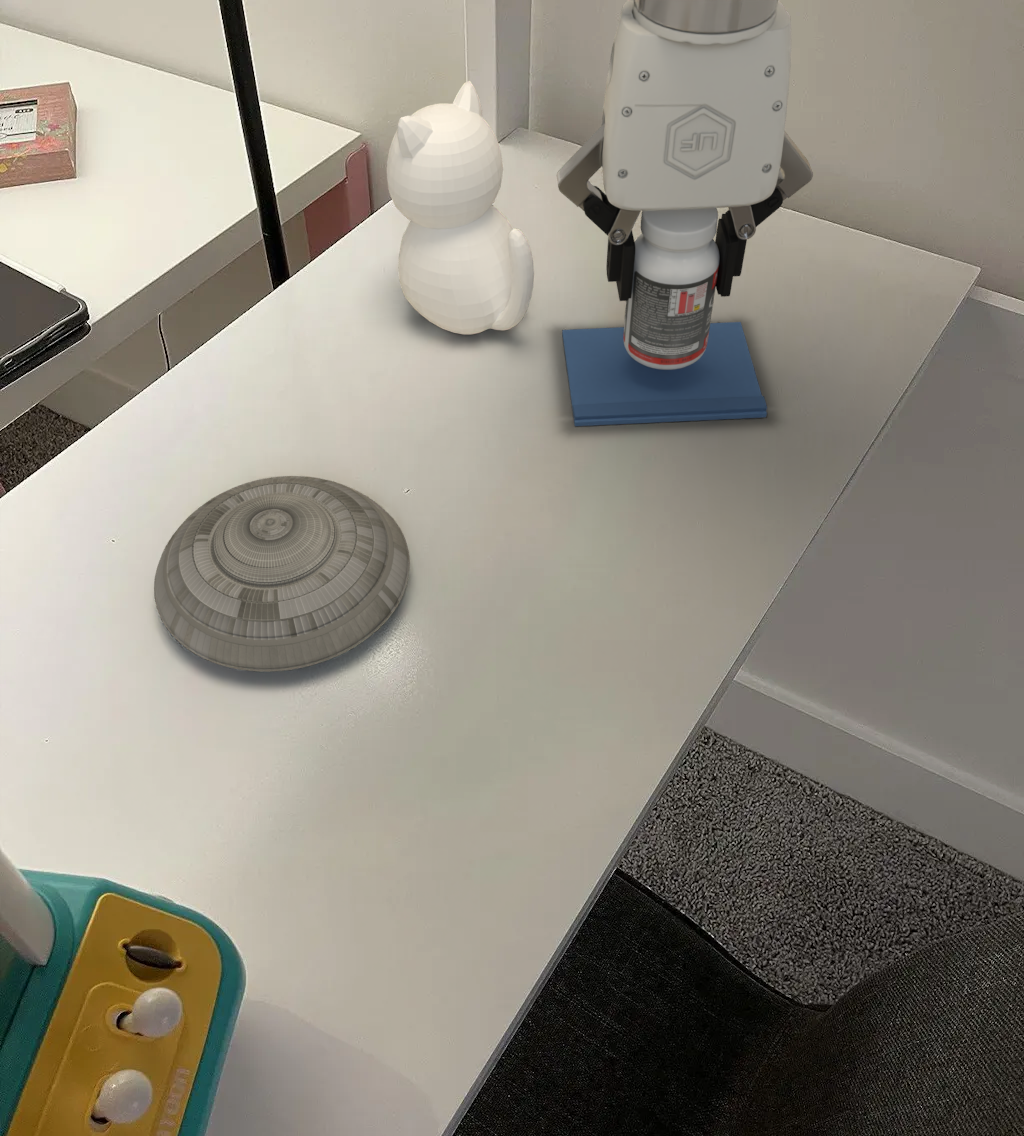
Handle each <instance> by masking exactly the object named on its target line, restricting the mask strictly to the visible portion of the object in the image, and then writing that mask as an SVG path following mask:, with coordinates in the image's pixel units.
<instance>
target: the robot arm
mask: <svg viewBox="0 0 1024 1136" xmlns="http://www.w3.org/2000/svg"><path fill="white" fill-rule="evenodd" d="M617 21H618V22H617V24H616V29H615V34H614V38H613V42H612V47H611V52H610V58H609V63H608V68H607V69H608V70H607V75H606V81H605V82H606V83H605V90H604V98H603V106H602V114H601V122H600V127H599V128H598V129H597V130H596V131H594V133H593V134H592V135H591V136H590V137H589V138H588V139H587V140H586V141H585V142H584V144H582V145H581V146H580V147H579V149H577V151H576V152H575V153H573V155H572V156H571V157H570V158H569V159H568V160H567V161H566V162H565V163H564V164H563V165H562V166H561V168H559V170H558V171H557V173H556V182H557V188H558V191H559V192H560V193H561V194H562V195H563V196H564V197H565V198H567V200H569V201H570V202H571V203H572V204H574V205H575V206H576V207H577V208H580V209H581V210H582V211H583V213H584V215H585V216H586V217H587V218H588V219H589V220H590V221H591V222H592V223H593V224H595V226H597V228H599V229H600V230H601V231H602V232H603V233H604V234H605V235H606V236H607V250H606V278H607V282H608V283H612V282H614V283H616V290H617V295H618V299H619V302H626V301H628V298H631V294H632V283H633V272H634V260H635V238H634V234H633V233H634V232H633V229H634V226H635V224H636V222H637V220H638V218H639V216H640V214H641V213H642V211H652V210H680V209H704V208H717V209H720V208H722V209H723V208H728V210H726V211H725V213H721V218H718V220H717V230H716V234H715V239H714V241H715V243H716V244H717V247H718V250H719V255H720V259H719V268H718V275H717V282H716V288H715V290H716V292H717V295H718V296H719V295H720V297H724V298H725V297H730V296H731V292H732V286H733V281H734V280H733V279H734V277H741V274H742V271H743V265H744V260H745V254H746V247H747V243H748V242H747V241H748V240H749V239H751V238H753V236H755V234H756V231H757V227H758V226H759V225H760V224H762V223H763V222H764V221H766V220H767V219H769V217H770V216H771V215H773V214H774V213H775V212H776V211H778V209H780V208H781V207H782V205H783V202H784V201H785V200H786V199H789V198H791V197H792V196H793V195H795V194H796V193H797V192H799V191H800V190H801V189H802V188H804V187H805V186H806V185H808V184H809V183H810V182H811V181H812V180H813V177H814V172H813V170H812V167H811V165H810V162H809V160H808V159H807V157H806V156H805V155H804V153H803V152H802V150H800V148H799V147H798V146H797V144H796V143H795V141H794V140H793V139H792V138H791V137H790V135H789V134H788V132H786V122H787V114H788V102H789V93H790V78H791V66H792V18H791V15H790V13H789V12H788V10H787V9H786V7H785V5H784V4H783V2H781V0H626V1H625V2H624V3H623V5H622V7H621V9H620V14H619V17H618V20H617ZM601 168H602V185H603V189H604V192H605V193H604V192H603V190H601V188H599V186H597V185H594V184H592V183H591V181H590V179H591V178H592V177H593V176H594V175H595V174H596V173H597V172H598V171H599V170H600V169H601Z"/></svg>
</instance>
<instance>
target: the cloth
mask: <svg viewBox="0 0 1024 1136" xmlns="http://www.w3.org/2000/svg"><path fill="white" fill-rule="evenodd" d="M561 336H562V343H563V344H562V345H563V351H564V356H565V366H566V373H567V380H568V388H569V395H570V404H571V411H572V419H573V425H574V427H590V426H608V425H630V424H633V425H634V424H650V423H651V424H655V423H673V422H674V423H675V422H694V421H695V422H698V421H716V420H717V421H718V420H737V419H738V420H739V419H757V418H758V419H759V418H760V419H761V418H767V414H768V412H767V411H768V406H767V402H766V399H765V396H764V395H762V391H761V387H760V384H759V380H758V377H757V373H756V370H755V366H754V363H753V360H752V357H751V353H750V349H749V346H748V343H747V342H748V341H747V339H746V335H745V332H744V328H743V325H742V322H741V321H730V322H710V329H709V336H708V342H707V346H706V349H705V352H704V353H703V355H702V356H701V357H700V358H699V359H698V360H697V361H696V362H694V363H693V364H691V365H689V366H686V367H683V368H680V369H673V370H661V369H655V368H651V367H647V366H645V365H643V364H641V363H639V362H637V361H636V360H634V359H633V358H632V357H631V356H630V355H629V354H628V352H627V350H626V348H625V346H624V339H623V338H624V337H623V336H624V326H618V327H617V326H616V327H596V328H574V329H571V328H570V329H562V330H561Z"/></svg>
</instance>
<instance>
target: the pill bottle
mask: <svg viewBox="0 0 1024 1136" xmlns="http://www.w3.org/2000/svg"><path fill="white" fill-rule="evenodd" d="M640 217H641V218H640V231H641V234H639V236H637V238H636V239H634V242H635V260H634V272H633V283H632V294H631V298H628V301H625V311H624V325H623V327H624V336H623V337H624V338H623V339H624V346H625V348H626V350H627V352H628V354H629V355H630V356H631V357H632V358H633V359H634V360H636V361H637V362H639V363H641V364H643V365H645V366H647V367H651V368H655V369H661V370H673V369H680V368H683V367H686V366H689V365H691V364H693V363H694V362H696V361H697V360H698V359H699V358H700V357H701V356H702V355H703V353H704V352H705V349H706V346H707V342H708V336H709V329H710V323H712V322H711V321H712V314H713V308H714V300H715V294H716V282H717V275H718V268H719V259H720V255H719V250H718V247H717V244H716V243H715V239H714V238H715V237H716V233H717V226H718V220H719V212H718V208H704V209H680V210H652V211H641V216H640Z"/></svg>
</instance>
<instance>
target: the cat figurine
mask: <svg viewBox="0 0 1024 1136" xmlns="http://www.w3.org/2000/svg"><path fill="white" fill-rule="evenodd" d="M485 119H486V118H484V117H483V108H482V103H481V99H480V96H479V94H478V91H477V90H476V88H475V86H474V84H472V82H471V81H470V80H467V81H465V82H464V83H463V84H462V85H461V87H460V88H459V90H458V92H457V94H456V96H455V97H454V100H453V101H452V103H434V104H430V105H427V106H423V107H422V108H419V109H418V110H416V111H415V112H414V113H412V114H410V115H404V116H401V117H400V118H399V120H398V122H397V127H396V131H395V133H394V135H393V138H392V140H391V143H390V146H389V150H388V155H387V162H386V182H387V190H388V193H389V196H390V198H391V200H392V203H393V205H394V207H395V208H396V209H397V211H398V212H400V214H402V215H403V216H404V217H405V218H406V219H407V220H409V223H408V225H407V226H406V228H405V230H404V233H403V235H402V238H401V243H400V246H399V252H398V265H397V269H398V281H399V284H400V288H401V291H402V293H403V297H404V299H406V300H407V302H409V304H410V305H411V307H412V308H413V310H415V311H416V312H417V313H418V314H420V316H422V317H423V318H425V320H427V321H428V322H430V324H434V325H435V326H437V327H438V328H440V329H443V330H445V331H448V332H451V333H455V334H459V335H476V334H480V333H482V332H485V331H487V330H491V329H492V330H495V331H507V330H510V329H513V328H514V327H516V326H517V325H518V324H519V323H520V322H521V321H522V320H523V318H524V317H525V316H526V313H527V311H528V308H529V305H530V302H531V299H532V295H533V289H534V283H535V281H534V280H535V279H534V278H535V269H534V258H533V253H532V249H531V246H530V243H529V240H528V238H527V237H526V235H525V233H524V232H523V231H522V230H521V229H519V228H517V227H516V228H513V226H512V224H511V223H510V221H509V219H508V218H507V217H506V216H505V215H504V214H503V213H502V212H501V211H500V210H499V208H497V207H496V206H495V205H493V204H494V203H495V201H496V199H497V197H498V195H499V192H500V189H501V187H502V182H503V174H504V164H503V156H502V150H501V147H500V143H499V140H498V138H497V136H496V134H495V132H494V130H493V128H492V127H491V126H490V125H489V123H488V122H487V121H486V120H485Z"/></svg>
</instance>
